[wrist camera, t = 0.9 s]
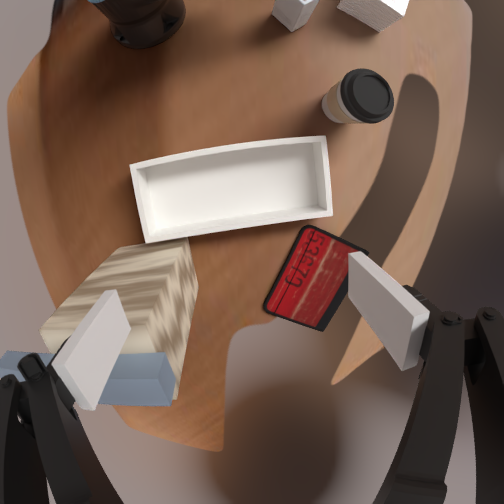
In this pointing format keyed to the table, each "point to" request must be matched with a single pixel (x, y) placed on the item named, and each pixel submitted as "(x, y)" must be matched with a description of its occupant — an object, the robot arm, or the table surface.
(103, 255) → the table surface
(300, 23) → the skincare box
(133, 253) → the beige tall box
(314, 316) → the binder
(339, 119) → the coffee cup
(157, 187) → the tray
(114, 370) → the block
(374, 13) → the stack of papers
